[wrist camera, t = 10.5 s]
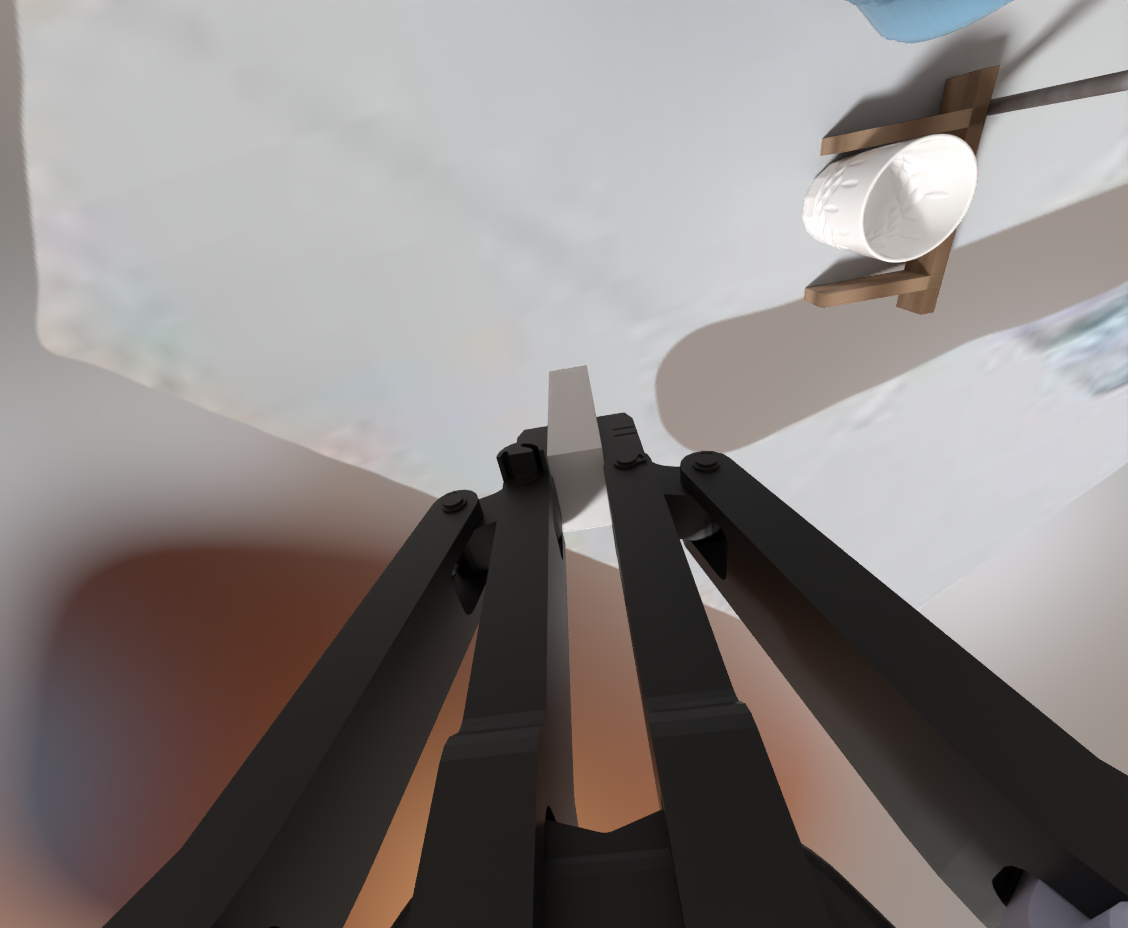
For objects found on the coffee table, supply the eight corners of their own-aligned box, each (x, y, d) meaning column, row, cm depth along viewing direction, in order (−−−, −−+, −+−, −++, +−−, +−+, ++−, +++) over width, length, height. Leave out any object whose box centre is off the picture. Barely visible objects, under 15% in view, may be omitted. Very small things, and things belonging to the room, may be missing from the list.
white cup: (783, 187, 39) (848, 183, 30) (873, 126, 37) (970, 104, 28) (809, 266, 43) (874, 283, 34) (893, 216, 40) (984, 220, 32)
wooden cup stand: (801, 323, 45) (906, 378, 32) (829, 74, 35) (1004, -1, 21) (920, 302, 45) (1081, 349, 31) (985, 41, 34) (1271, -60, 21)
